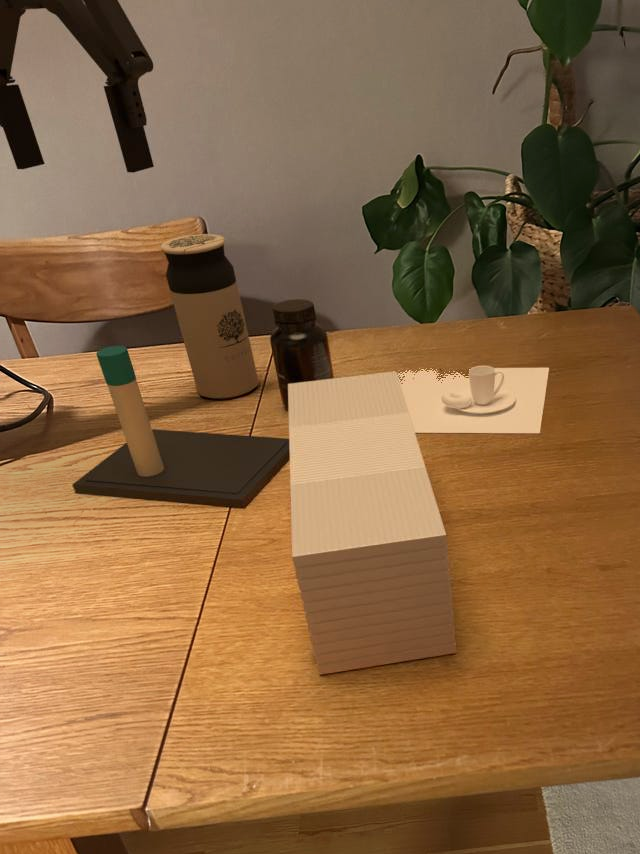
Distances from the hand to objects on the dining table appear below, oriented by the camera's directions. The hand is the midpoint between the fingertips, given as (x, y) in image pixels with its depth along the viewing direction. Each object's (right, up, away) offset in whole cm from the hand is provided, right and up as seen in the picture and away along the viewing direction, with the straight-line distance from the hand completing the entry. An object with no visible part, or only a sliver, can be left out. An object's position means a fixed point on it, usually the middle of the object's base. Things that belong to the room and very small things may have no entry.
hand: (84, 168), depth 78 cm
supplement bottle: (+16, -15, +27) cm, 34 cm away
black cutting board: (+5, -25, +14) cm, 29 cm away
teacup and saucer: (+35, -14, +26) cm, 46 cm away
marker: (+2, -26, +12) cm, 29 cm away
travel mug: (+4, -11, +32) cm, 34 cm away
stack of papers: (+27, -37, -2) cm, 46 cm away
